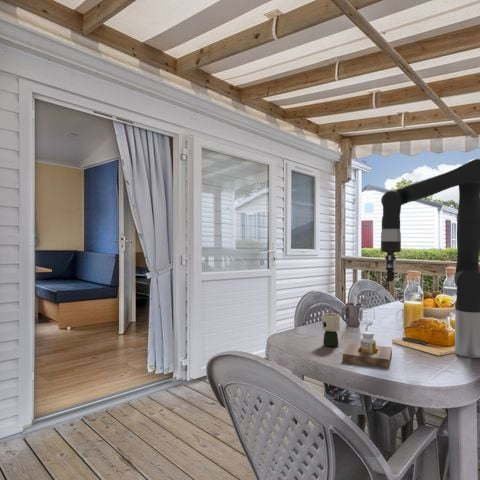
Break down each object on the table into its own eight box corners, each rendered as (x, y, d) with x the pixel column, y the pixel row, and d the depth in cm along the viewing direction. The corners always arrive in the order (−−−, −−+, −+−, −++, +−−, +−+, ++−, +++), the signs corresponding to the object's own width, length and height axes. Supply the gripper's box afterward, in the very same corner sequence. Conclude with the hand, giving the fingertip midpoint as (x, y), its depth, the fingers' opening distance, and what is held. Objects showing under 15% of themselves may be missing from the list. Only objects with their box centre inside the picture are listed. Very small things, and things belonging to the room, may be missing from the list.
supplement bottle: (372, 356, 146) (372, 330, 146) (377, 360, 141) (378, 334, 141) (358, 356, 146) (358, 331, 146) (363, 360, 141) (363, 334, 141)
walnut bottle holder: (391, 355, 148) (391, 347, 148) (389, 368, 133) (389, 359, 133) (349, 350, 154) (349, 342, 154) (342, 361, 140) (342, 353, 140)
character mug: (320, 341, 166) (320, 312, 166) (337, 342, 165) (337, 312, 165) (323, 349, 155) (323, 317, 155) (341, 349, 155) (341, 317, 154)
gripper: (400, 240, 147) (400, 282, 147) (401, 240, 160) (401, 278, 160) (379, 240, 150) (379, 281, 150) (382, 240, 163) (382, 278, 163)
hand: (390, 280), depth 155 cm, fingers open, 8 cm apart
